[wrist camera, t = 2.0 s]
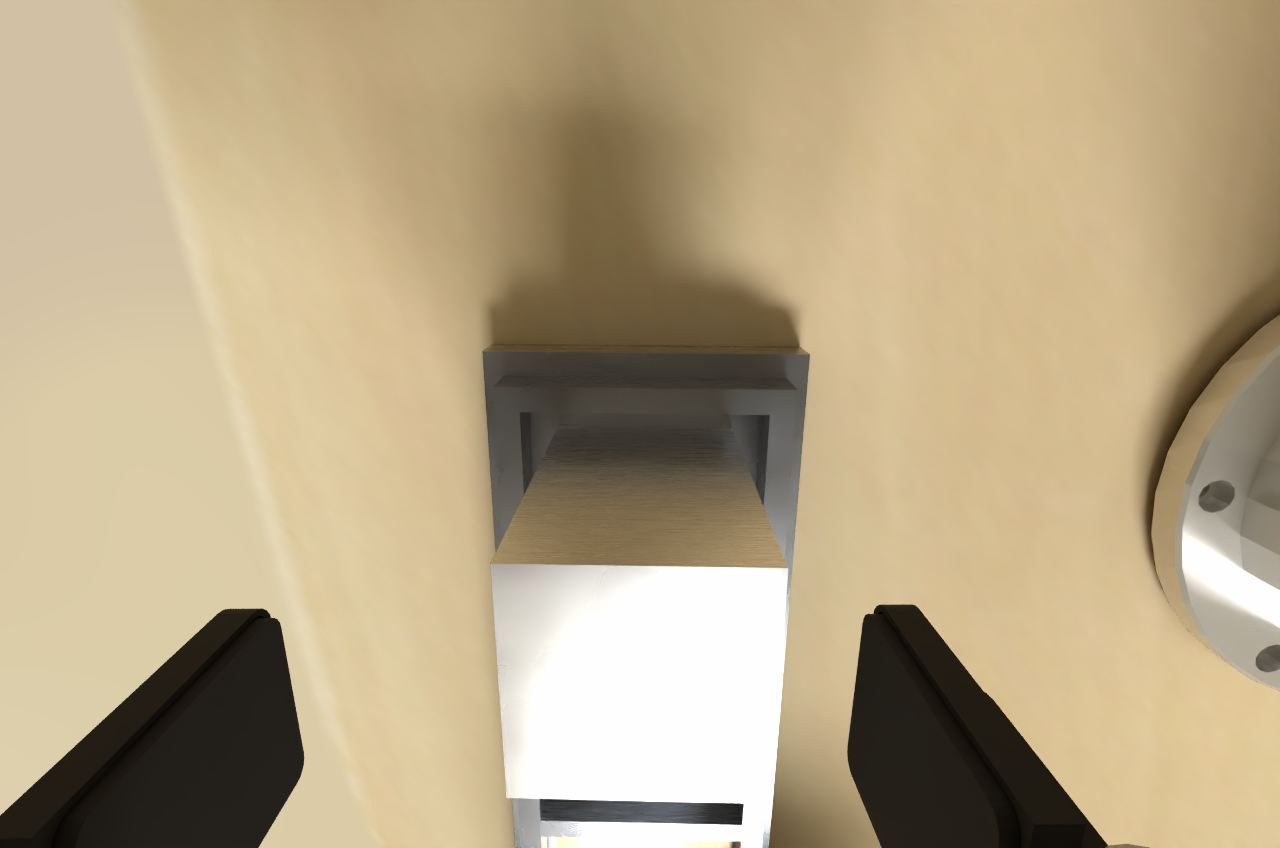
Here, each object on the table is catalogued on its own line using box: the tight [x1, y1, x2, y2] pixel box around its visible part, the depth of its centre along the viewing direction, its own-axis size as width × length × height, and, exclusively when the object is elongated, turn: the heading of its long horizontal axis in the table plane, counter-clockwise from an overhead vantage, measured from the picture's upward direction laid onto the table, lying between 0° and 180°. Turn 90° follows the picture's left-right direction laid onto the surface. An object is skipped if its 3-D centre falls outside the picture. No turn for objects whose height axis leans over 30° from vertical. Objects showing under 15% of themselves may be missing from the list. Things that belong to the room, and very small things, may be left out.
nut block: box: [490, 426, 788, 804], centre depth 13 cm, size 4×4×7 cm
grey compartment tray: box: [483, 345, 810, 848], centre depth 18 cm, size 8×21×2 cm, turn 0°
